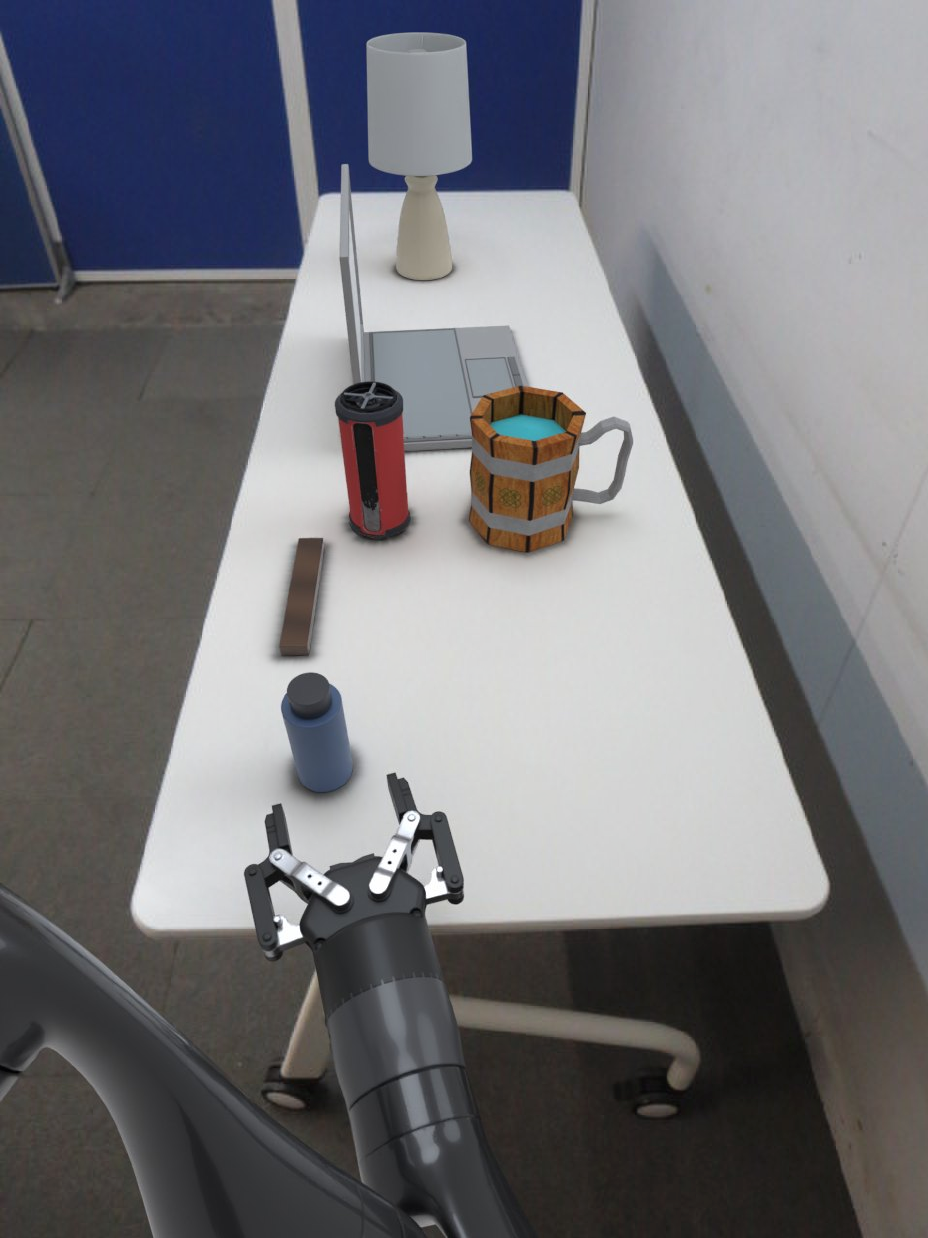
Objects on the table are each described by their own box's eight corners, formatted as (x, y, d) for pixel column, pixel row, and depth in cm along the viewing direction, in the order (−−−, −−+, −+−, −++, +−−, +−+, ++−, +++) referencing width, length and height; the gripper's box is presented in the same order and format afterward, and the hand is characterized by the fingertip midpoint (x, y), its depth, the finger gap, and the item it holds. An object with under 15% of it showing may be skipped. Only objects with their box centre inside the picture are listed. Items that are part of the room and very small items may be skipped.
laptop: (542, 444, 115) (558, 248, 95) (359, 454, 113) (337, 257, 94) (508, 332, 139) (515, 158, 120) (357, 339, 137) (340, 164, 118)
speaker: (342, 537, 100) (325, 409, 87) (359, 500, 105) (344, 374, 93) (403, 543, 99) (394, 415, 86) (416, 506, 105) (409, 380, 92)
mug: (472, 555, 98) (474, 450, 87) (464, 489, 107) (464, 387, 96) (631, 547, 99) (652, 443, 88) (609, 483, 108) (625, 381, 98)
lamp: (475, 252, 164) (477, 31, 138) (467, 290, 151) (467, 55, 125) (385, 249, 165) (370, 29, 139) (369, 287, 152) (349, 53, 126)
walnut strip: (309, 655, 86) (307, 645, 85) (281, 655, 86) (278, 646, 85) (324, 546, 99) (323, 537, 98) (300, 547, 99) (298, 537, 98)
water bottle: (331, 801, 74) (314, 721, 65) (286, 778, 75) (264, 697, 67) (363, 760, 77) (351, 679, 68) (319, 738, 78) (302, 656, 70)
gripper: (500, 951, 47) (425, 739, 58) (259, 1031, 44) (227, 792, 55) (498, 997, 53) (429, 795, 64) (282, 1072, 50) (248, 846, 61)
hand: (335, 794), depth 60 cm, fingers open, 8 cm apart
